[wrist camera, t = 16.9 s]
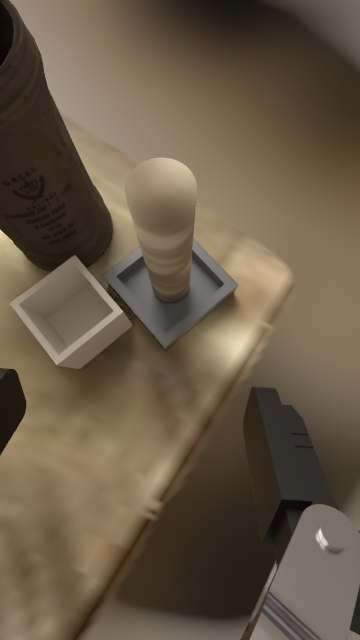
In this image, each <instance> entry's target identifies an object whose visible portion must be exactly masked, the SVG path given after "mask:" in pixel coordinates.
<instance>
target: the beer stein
mask: <svg viewBox="0 0 360 640" xmlns="http://www.w3.org/2000/svg"><path fill="white" fill-rule="evenodd" d="M0 230H2V231H3V232H4V233H5V234H6V235H7V236H8V237H9V238H10V239H11V240H12V241H13V242H14V244H15V245H16V246H17V247H18V248H19V249H20V250H21V251H23V253H24V254H25V255H26V256H27V258H28V259H29V260H30V261H31V262H33V263H34V264H35V265H36V266H38V267H40V268H42V269H44V270H47V271H51V272H52V271H54V270H55V269H56V268H58V267H59V266H61V265H62V264H63V263H65V262H66V261H67V260H69V259H70V258H71V257H73V256H74V255H76V257H77V258H78V259H79V260H80V261H81V263H82V264H83V265H84V266H85V267H88V266H89V265H91V264H92V263H93V262H95V261H96V260H97V259H98V258H99V257H100V256H101V255H102V254H103V252H104V251H105V249H106V248H107V246H108V244H109V241H110V238H111V235H112V220H111V216H110V213H109V211H108V209H107V207H106V206H105V204H104V202H103V199H102V197H101V195H100V193H99V192H98V190H97V189H96V187H95V186H94V185H93V183H92V181H91V179H90V177H89V175H88V173H87V171H86V169H85V167H84V165H83V163H82V161H81V159H80V156H79V154H78V152H77V150H76V148H75V146H74V144H73V142H72V139H71V137H70V135H69V133H68V131H67V128H66V126H65V124H64V122H63V120H62V117H61V115H60V113H59V111H58V109H57V106H56V104H55V102H54V100H53V98H52V96H51V94H50V91H49V89H48V86H47V82H46V78H45V74H44V68H43V62H42V57H41V54H40V51H39V49H38V47H37V45H36V42H35V40H34V38H33V36H32V35H31V33H30V32H29V30H28V29H27V28H26V26H25V24H24V22H23V21H22V19H21V17H20V15H19V13H18V11H17V9H16V8H15V6H14V5H13V4H12V3H11V2H10V1H9V0H0Z"/></svg>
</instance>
